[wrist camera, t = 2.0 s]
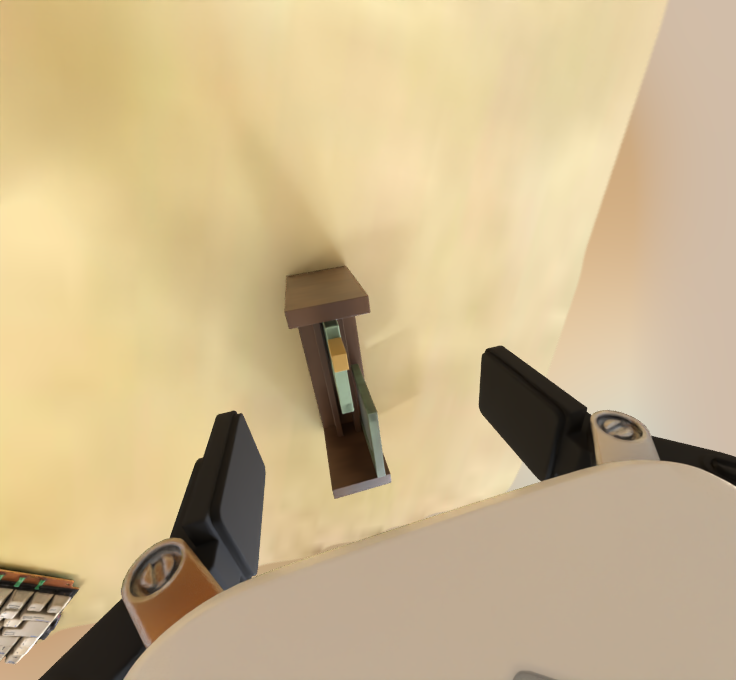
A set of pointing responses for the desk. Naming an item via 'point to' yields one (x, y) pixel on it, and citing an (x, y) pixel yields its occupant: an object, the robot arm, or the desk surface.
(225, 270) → the desk surface
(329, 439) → the window frame
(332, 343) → the sliding pane
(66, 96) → the desk surface
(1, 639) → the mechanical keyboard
